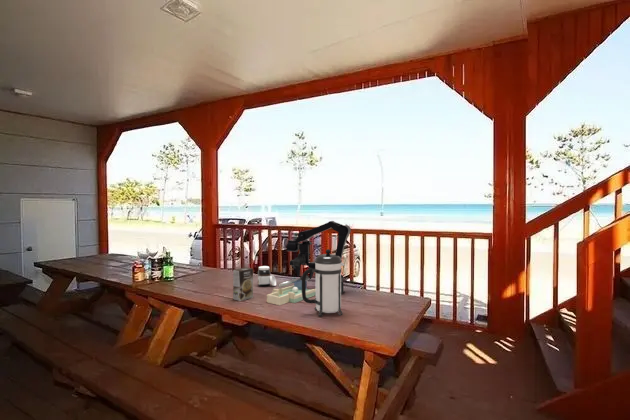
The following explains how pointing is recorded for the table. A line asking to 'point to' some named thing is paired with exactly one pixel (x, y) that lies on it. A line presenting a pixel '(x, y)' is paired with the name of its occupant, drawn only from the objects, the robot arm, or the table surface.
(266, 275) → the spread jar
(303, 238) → the robot arm
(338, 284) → the coffee press
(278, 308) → the table surface
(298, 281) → the rod
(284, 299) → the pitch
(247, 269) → the coffee box
